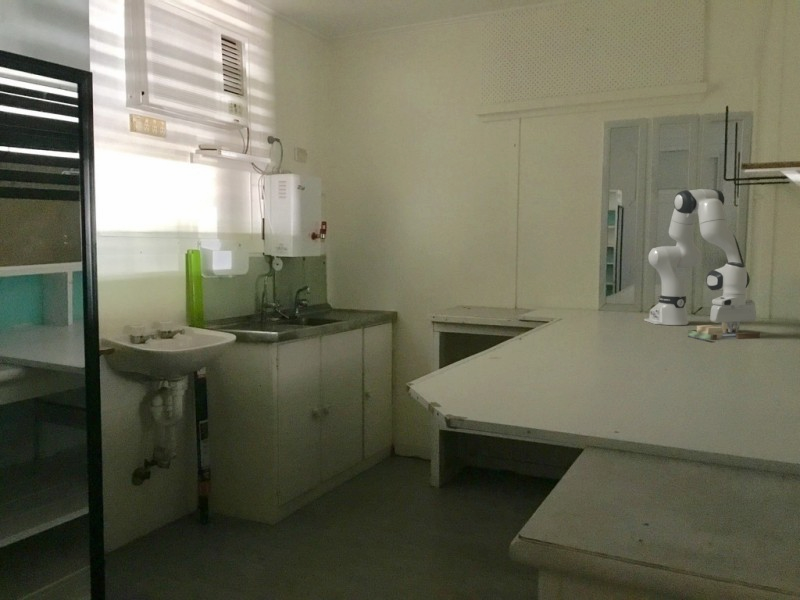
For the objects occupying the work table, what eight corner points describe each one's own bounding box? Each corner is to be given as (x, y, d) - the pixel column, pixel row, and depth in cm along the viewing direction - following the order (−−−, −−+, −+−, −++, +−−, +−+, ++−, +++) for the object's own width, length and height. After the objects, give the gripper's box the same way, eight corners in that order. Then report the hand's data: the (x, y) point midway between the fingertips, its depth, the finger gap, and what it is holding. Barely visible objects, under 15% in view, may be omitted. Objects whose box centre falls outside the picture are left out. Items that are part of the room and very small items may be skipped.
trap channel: (687, 337, 271) (688, 330, 271) (734, 335, 276) (735, 328, 276) (710, 342, 258) (710, 335, 257) (759, 340, 263) (759, 333, 262)
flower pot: (746, 335, 276) (747, 316, 275) (724, 335, 276) (725, 316, 275) (735, 332, 285) (736, 313, 284) (714, 332, 285) (715, 313, 284)
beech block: (696, 336, 268) (696, 325, 267) (710, 335, 269) (710, 325, 269) (708, 338, 261) (708, 328, 260) (722, 337, 262) (722, 327, 262)
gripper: (749, 299, 272) (747, 330, 273) (708, 300, 267) (707, 332, 269) (760, 300, 265) (758, 332, 267) (719, 301, 261) (717, 334, 263)
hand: (732, 332), depth 268 cm, fingers closed
